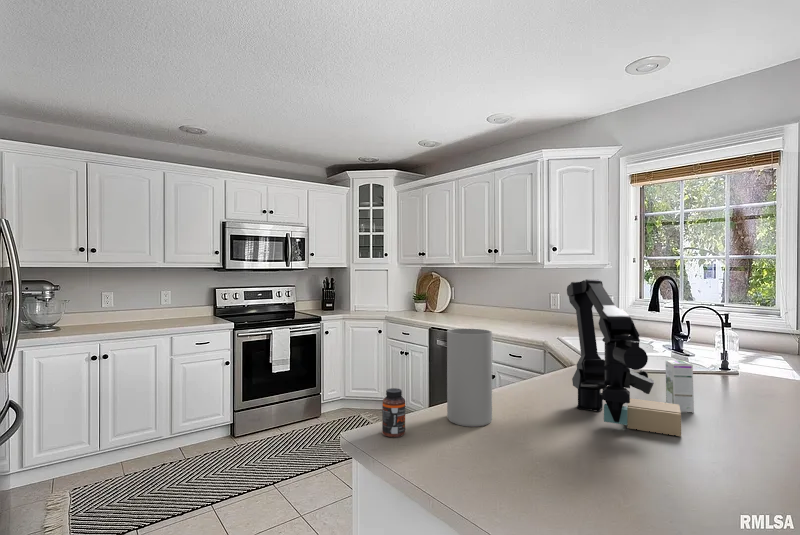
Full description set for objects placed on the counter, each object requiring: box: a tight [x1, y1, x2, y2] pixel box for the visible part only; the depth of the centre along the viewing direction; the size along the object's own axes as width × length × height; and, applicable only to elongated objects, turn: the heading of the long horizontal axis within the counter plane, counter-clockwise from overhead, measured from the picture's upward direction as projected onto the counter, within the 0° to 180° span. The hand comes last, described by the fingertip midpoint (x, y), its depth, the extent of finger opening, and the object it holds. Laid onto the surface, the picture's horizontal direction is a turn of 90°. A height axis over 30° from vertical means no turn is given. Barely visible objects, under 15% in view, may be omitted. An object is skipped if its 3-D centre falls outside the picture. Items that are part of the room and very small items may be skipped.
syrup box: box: [665, 359, 695, 414], centre depth 131 cm, size 6×6×14 cm
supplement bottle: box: [381, 387, 406, 438], centre depth 111 cm, size 6×6×11 cm
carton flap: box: [603, 403, 682, 437], centre depth 112 cm, size 18×3×6 cm, turn 61°
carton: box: [627, 397, 682, 415], centre depth 116 cm, size 12×8×6 cm, turn 60°
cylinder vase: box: [446, 328, 493, 428], centre depth 122 cm, size 12×12×25 cm
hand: (616, 420), depth 115 cm, fingers open, 3 cm apart
